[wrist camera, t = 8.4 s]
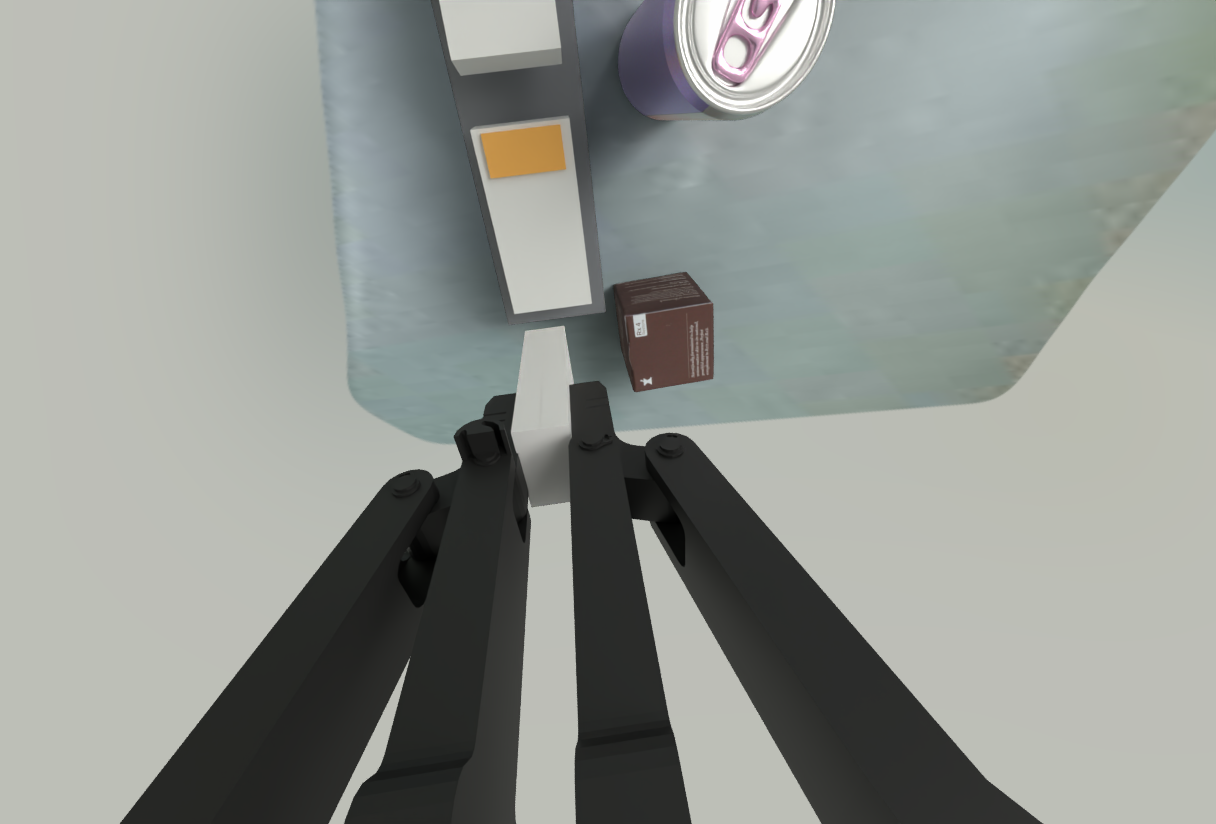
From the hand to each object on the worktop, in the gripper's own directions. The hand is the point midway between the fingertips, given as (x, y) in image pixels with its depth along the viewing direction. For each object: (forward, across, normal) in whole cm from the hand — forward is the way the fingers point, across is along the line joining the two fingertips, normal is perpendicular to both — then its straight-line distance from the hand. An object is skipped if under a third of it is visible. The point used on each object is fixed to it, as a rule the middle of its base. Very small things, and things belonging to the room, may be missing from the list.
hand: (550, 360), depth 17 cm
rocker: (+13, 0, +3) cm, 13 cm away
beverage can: (+19, +9, +10) cm, 23 cm away
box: (+19, +7, -6) cm, 21 cm away
